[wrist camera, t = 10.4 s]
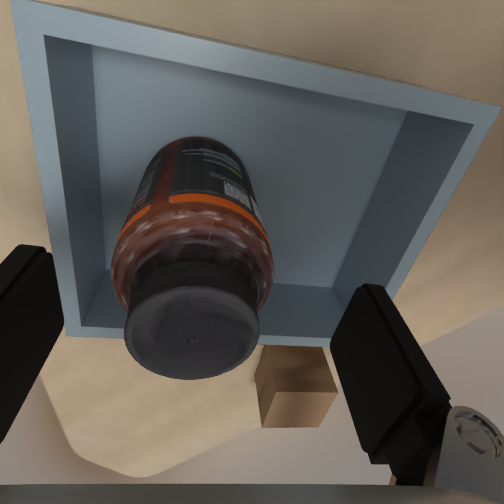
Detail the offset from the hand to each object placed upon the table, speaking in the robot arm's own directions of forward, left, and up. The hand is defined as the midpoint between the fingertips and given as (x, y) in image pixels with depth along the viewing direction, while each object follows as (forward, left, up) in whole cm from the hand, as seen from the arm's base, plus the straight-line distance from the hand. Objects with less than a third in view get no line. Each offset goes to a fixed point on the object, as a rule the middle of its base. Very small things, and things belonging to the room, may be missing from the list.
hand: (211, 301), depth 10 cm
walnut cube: (-9, +17, -11) cm, 22 cm away
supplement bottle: (+1, 0, -10) cm, 10 cm away
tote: (-2, +1, -11) cm, 11 cm away
